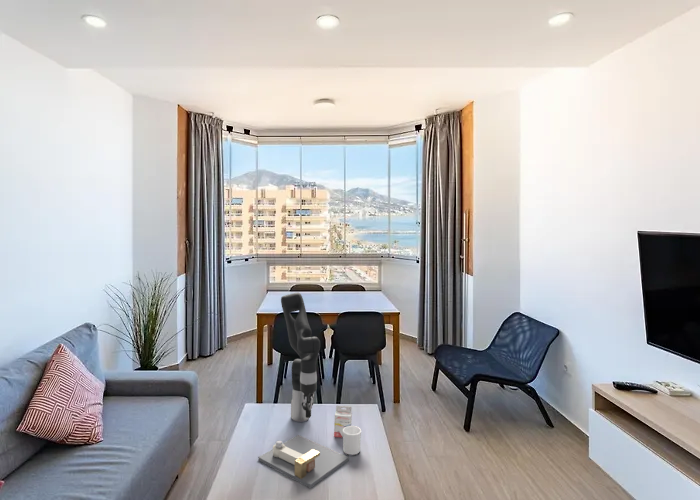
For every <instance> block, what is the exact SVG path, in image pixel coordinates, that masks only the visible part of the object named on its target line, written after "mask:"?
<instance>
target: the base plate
mask: <svg viewBox="0 0 700 500" xmlns="http://www.w3.org/2000/svg"><path fill="white" fill-rule="evenodd" d="M282 444H284V445H285V446H286V447H288V448H290V449H292V450H295V451H297V452H299V453H301V454H303V455H304V454H306V453H308V452H309V451H311V450H312V449H314V450H316V451H318V452H320V456H318V457H317V458H315V468H314V469H312V470H311V471H309V472H308V471H306V476H305V477H304V478H302V479H301V478H299V477H297V476H295V465H293V464H291V463H289V462H287V461H285V460H283V459H281V458H279V457H274V456H273V448H272V449H271V450H268V451H267V452H265V453H263V454H262V455H260V456H258V461H259V462H261V463H262V464H264V465H266V466H268V467H270V468H272V469H274V470H276V471H278V472H279V473H281V474H283V475H285V476H287V477H289V478H290V479H292V480H294V481H296V482H298V483H300V484H301V485H303V486H306V487H308V488H309V489H312V487H314V486H315V485H317V484H318V483H320V482H321V481H322V480H324V479H325V478H326V477H328V476H329V475H331V474H332V473H334V472H335V471H336V470H338V469H339V468H341V467H342V466H343V465H344V464H346V463H347V462H349V460H350V459H349V457H350V456H348V455H346V454H342V453H340V452H338V451H335V450H333V449H332V448H329V447H327V446H324V445H322V444H320V443H318V442H316V441H313V440H311V439H309V438H307V437H304V436H301V435H300V434H297V435H296V436H294V437H292V438H290V439H289V440H287V441H285V442H282Z"/></svg>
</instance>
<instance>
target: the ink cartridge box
mask: <svg viewBox="0 0 700 500" xmlns="http://www.w3.org/2000/svg"><path fill="white" fill-rule="evenodd" d="M352 409H353V408H352V406H345V405H336V408H335V410H336V411H335V414H334V421H333V422H334V423H333V425H334V429H333V437H334V438H341V439H343V438H342V437H343V429H344V428H345V427H347V426H352V415H353V413H352Z"/></svg>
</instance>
